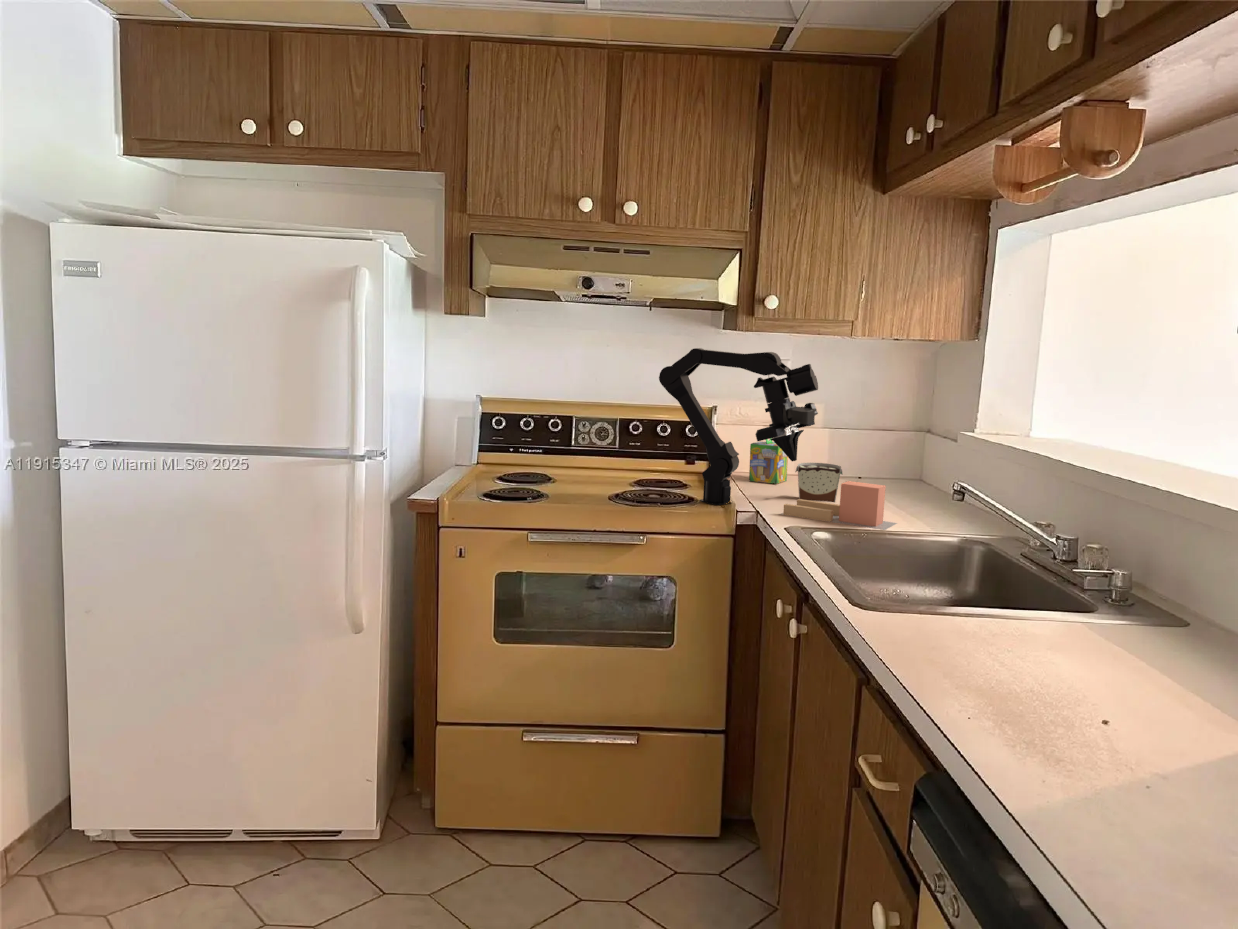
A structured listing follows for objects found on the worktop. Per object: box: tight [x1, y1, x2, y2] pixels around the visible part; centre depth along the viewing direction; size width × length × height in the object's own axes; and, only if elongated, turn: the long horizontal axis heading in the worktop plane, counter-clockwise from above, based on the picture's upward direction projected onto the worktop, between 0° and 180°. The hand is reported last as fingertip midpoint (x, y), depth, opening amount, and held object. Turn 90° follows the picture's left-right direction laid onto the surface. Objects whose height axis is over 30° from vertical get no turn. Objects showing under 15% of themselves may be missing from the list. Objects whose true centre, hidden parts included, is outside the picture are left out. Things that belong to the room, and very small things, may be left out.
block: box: [839, 480, 887, 526], centre depth 213 cm, size 9×5×9 cm, turn 56°
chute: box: [780, 498, 898, 531], centre depth 217 cm, size 26×10×3 cm, turn 56°
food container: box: [795, 462, 843, 503], centre depth 242 cm, size 12×6×10 cm, turn 84°
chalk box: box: [748, 438, 789, 485], centre depth 271 cm, size 9×9×15 cm
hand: (794, 460), depth 226 cm, fingers closed
